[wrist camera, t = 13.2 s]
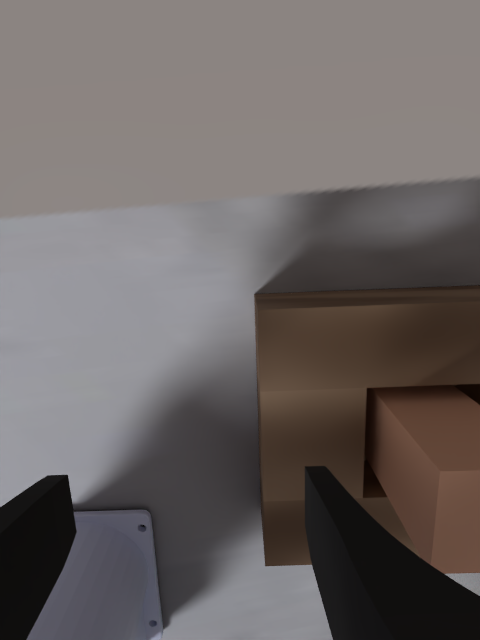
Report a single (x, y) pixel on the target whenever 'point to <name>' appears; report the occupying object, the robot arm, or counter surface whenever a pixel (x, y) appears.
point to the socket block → (347, 390)
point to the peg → (429, 468)
